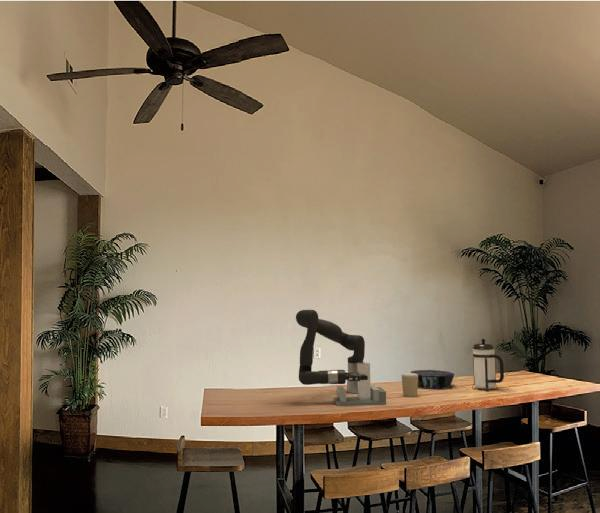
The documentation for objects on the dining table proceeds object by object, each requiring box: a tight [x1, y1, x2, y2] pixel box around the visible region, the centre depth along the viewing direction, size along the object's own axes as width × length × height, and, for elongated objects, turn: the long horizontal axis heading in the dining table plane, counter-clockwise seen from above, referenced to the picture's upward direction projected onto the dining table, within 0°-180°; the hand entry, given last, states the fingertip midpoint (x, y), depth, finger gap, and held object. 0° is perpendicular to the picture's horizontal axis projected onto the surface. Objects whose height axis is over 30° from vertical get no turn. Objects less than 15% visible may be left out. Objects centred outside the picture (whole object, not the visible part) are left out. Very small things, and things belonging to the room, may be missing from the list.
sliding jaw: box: [336, 385, 347, 402], centre depth 277 cm, size 3×13×6 cm, turn 4°
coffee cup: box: [400, 372, 419, 398], centre depth 294 cm, size 9×9×12 cm
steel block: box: [357, 362, 371, 400], centre depth 279 cm, size 6×4×19 cm
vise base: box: [332, 384, 387, 407], centre depth 278 cm, size 26×15×8 cm, turn 94°
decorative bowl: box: [410, 369, 455, 390], centre depth 325 cm, size 26×28×10 cm
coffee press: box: [471, 338, 505, 392], centre depth 311 cm, size 17×16×30 cm
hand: (366, 376), depth 279 cm, fingers open, 8 cm apart
